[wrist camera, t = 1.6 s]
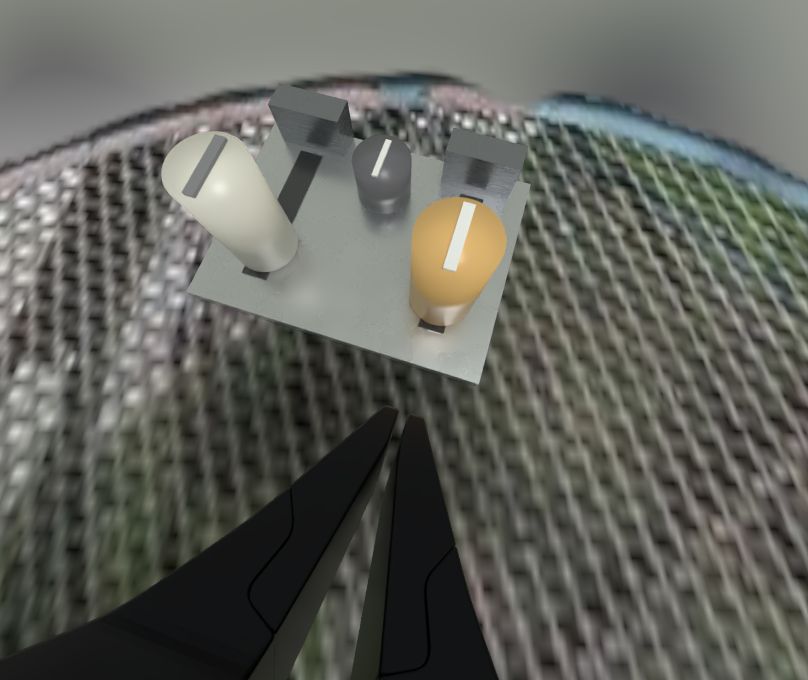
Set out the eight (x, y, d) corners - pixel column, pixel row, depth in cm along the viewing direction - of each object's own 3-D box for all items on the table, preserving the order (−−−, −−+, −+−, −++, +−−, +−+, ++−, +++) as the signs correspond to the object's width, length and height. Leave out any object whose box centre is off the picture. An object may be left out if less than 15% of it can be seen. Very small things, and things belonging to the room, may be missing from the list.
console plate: (474, 385, 21) (491, 378, 17) (197, 298, 23) (152, 272, 19) (524, 195, 25) (548, 151, 21) (283, 130, 26) (261, 78, 22)
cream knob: (283, 279, 21) (225, 213, 14) (225, 262, 22) (141, 188, 15) (307, 226, 22) (263, 140, 15) (251, 210, 23) (184, 118, 16)
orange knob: (464, 334, 20) (495, 291, 14) (401, 315, 21) (399, 263, 14) (480, 276, 22) (517, 208, 15) (420, 258, 22) (427, 183, 15)
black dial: (401, 219, 23) (401, 189, 20) (350, 205, 23) (342, 173, 20) (417, 176, 24) (419, 141, 21) (368, 163, 24) (363, 126, 21)
